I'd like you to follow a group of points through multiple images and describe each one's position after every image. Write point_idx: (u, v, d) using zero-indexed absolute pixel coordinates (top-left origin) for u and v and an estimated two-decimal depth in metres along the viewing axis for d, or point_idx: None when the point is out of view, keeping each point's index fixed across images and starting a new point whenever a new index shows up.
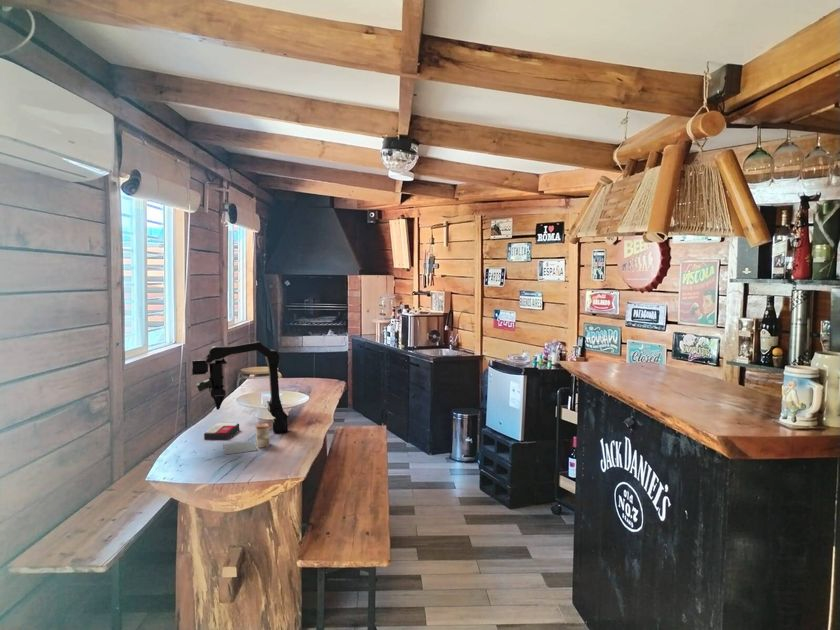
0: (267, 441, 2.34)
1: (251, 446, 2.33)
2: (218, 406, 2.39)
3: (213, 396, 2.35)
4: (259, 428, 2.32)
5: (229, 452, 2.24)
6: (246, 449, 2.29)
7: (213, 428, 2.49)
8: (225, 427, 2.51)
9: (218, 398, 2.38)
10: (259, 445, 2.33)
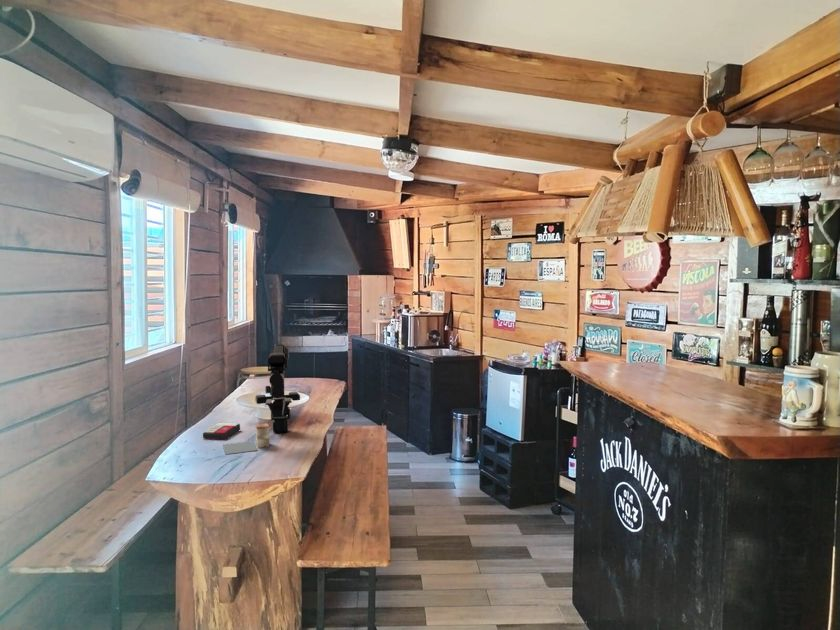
0: (267, 441, 2.34)
1: (251, 446, 2.33)
2: (271, 414, 2.36)
3: None
4: (259, 428, 2.32)
5: (229, 452, 2.24)
6: (246, 449, 2.29)
7: (213, 428, 2.50)
8: (225, 427, 2.51)
9: None
10: (259, 445, 2.33)
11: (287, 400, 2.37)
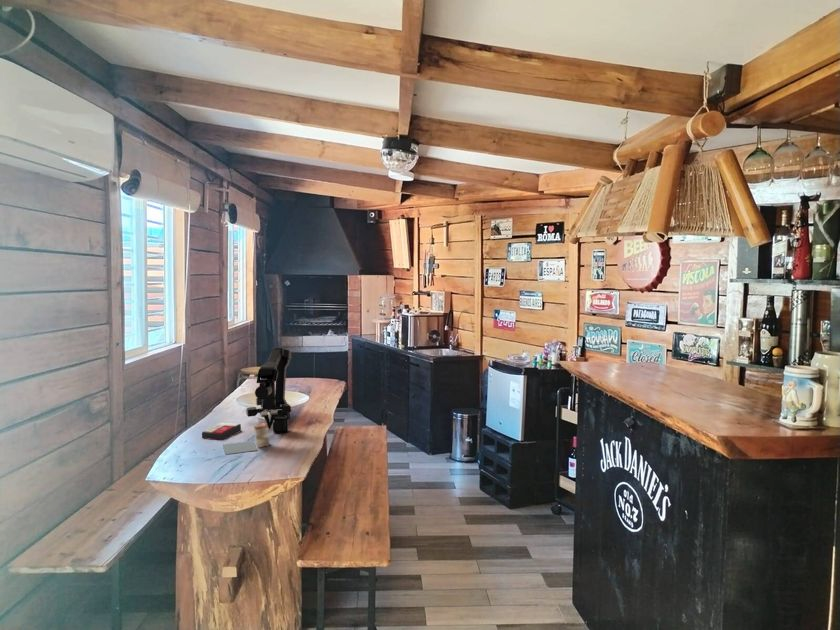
0: (266, 440, 2.34)
1: (251, 446, 2.33)
2: (267, 425, 2.36)
3: (260, 413, 2.36)
4: (257, 428, 2.32)
5: (229, 452, 2.24)
6: (246, 449, 2.29)
7: (213, 427, 2.51)
8: (224, 427, 2.51)
9: None
10: (259, 445, 2.33)
11: (273, 413, 2.35)
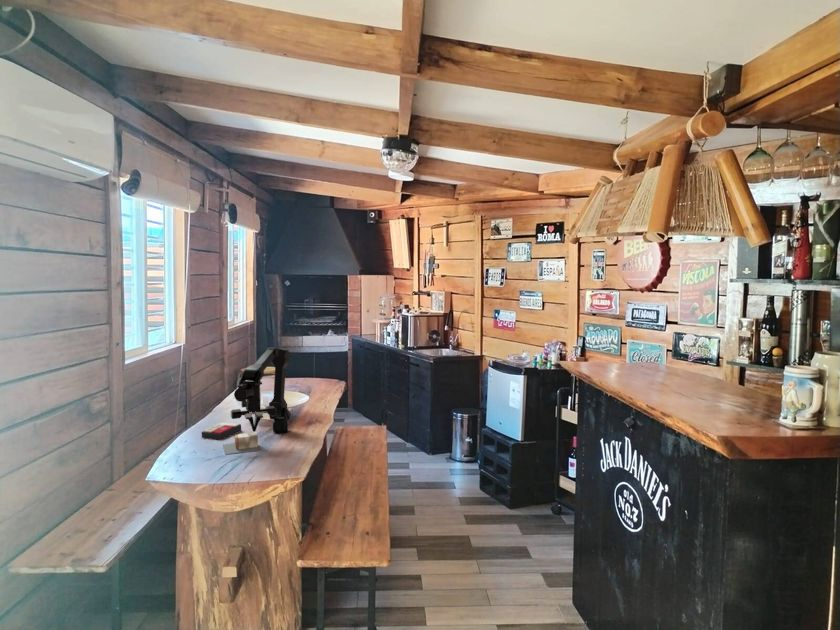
0: (252, 437, 2.31)
1: None
2: (252, 428, 2.33)
3: None
4: (237, 447, 2.29)
5: (229, 452, 2.24)
6: (246, 449, 2.29)
7: (213, 427, 2.51)
8: (224, 427, 2.51)
9: None
10: (256, 445, 2.32)
11: (258, 415, 2.33)
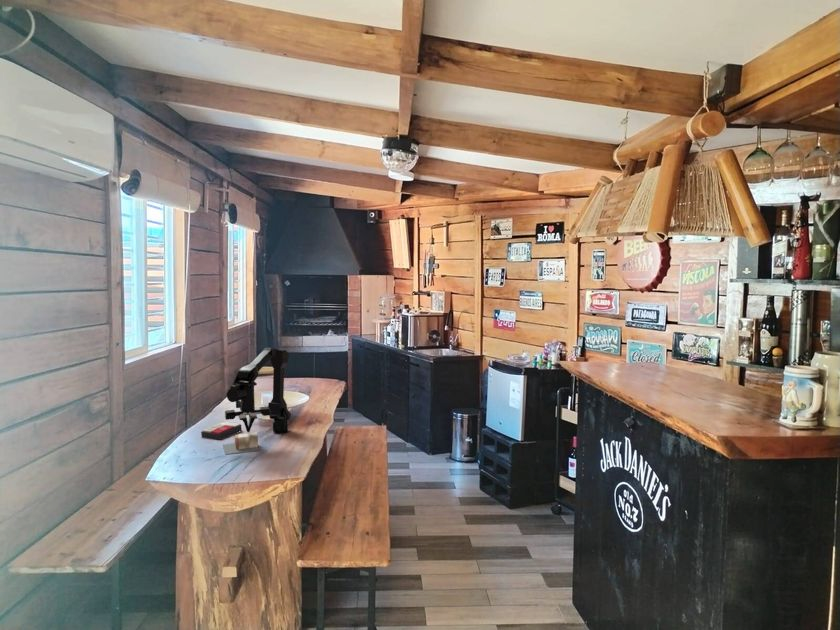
0: (252, 437, 2.31)
1: None
2: (246, 429, 2.32)
3: None
4: (237, 447, 2.29)
5: (229, 452, 2.24)
6: (246, 449, 2.29)
7: (213, 427, 2.52)
8: (224, 427, 2.51)
9: None
10: (256, 445, 2.32)
11: (252, 416, 2.32)
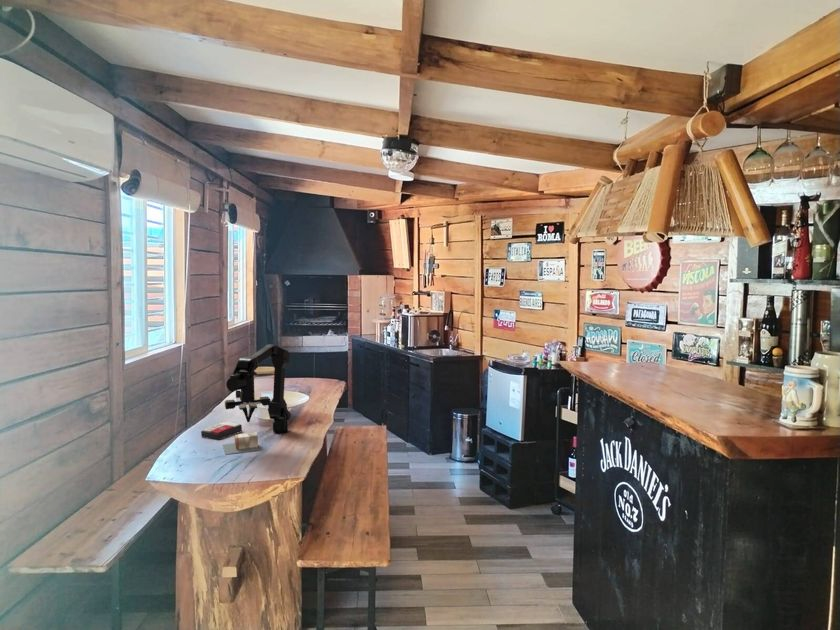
0: (252, 437, 2.31)
1: None
2: (246, 418, 2.32)
3: None
4: (237, 447, 2.29)
5: (229, 452, 2.24)
6: (246, 449, 2.29)
7: (213, 426, 2.52)
8: (224, 427, 2.51)
9: None
10: (256, 445, 2.32)
11: (252, 405, 2.32)
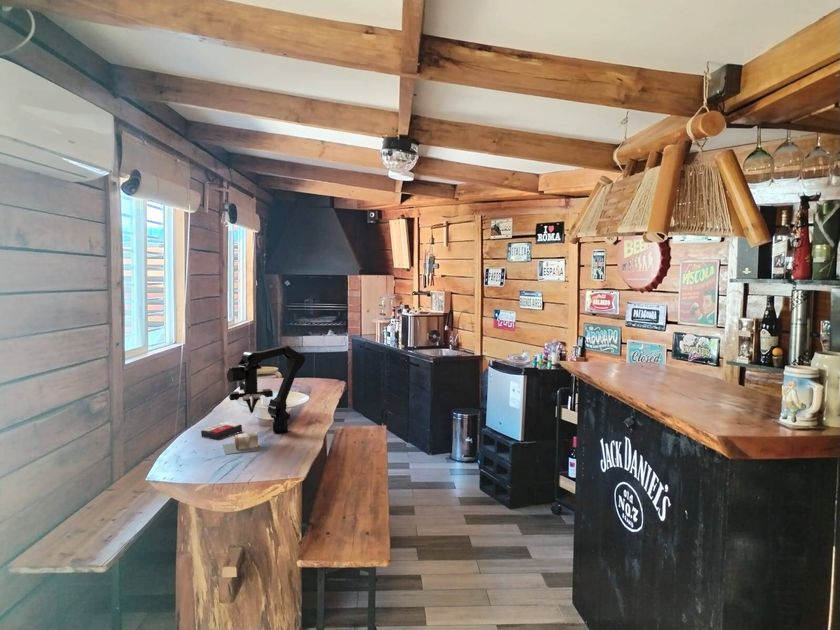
0: (252, 437, 2.31)
1: None
2: (249, 409, 2.44)
3: None
4: (237, 447, 2.29)
5: (229, 452, 2.24)
6: (246, 449, 2.29)
7: (213, 426, 2.53)
8: (224, 426, 2.52)
9: None
10: (256, 445, 2.32)
11: (255, 397, 2.43)
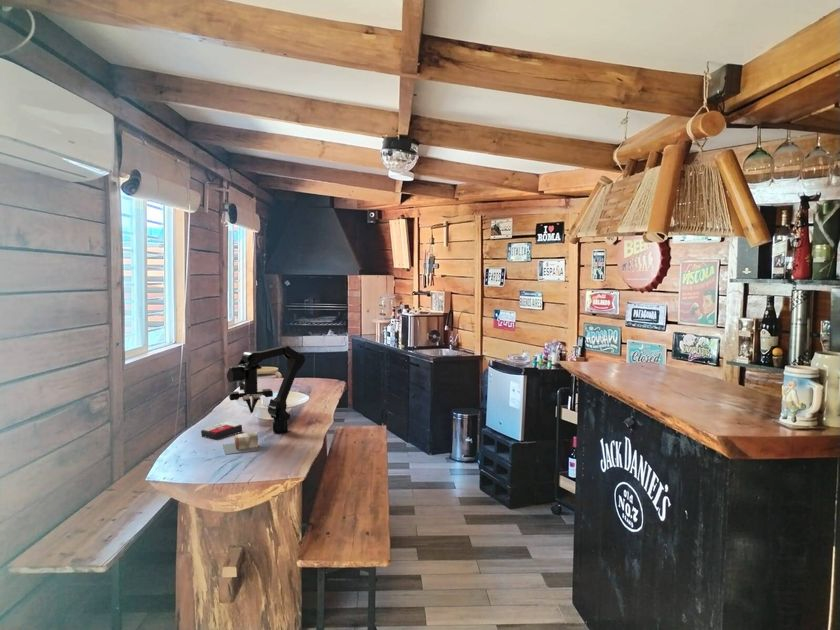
0: (252, 437, 2.31)
1: None
2: (249, 409, 2.44)
3: (242, 397, 2.44)
4: (237, 447, 2.29)
5: (229, 452, 2.24)
6: (246, 449, 2.29)
7: (214, 426, 2.53)
8: (224, 426, 2.52)
9: None
10: (256, 445, 2.32)
11: (255, 397, 2.43)
